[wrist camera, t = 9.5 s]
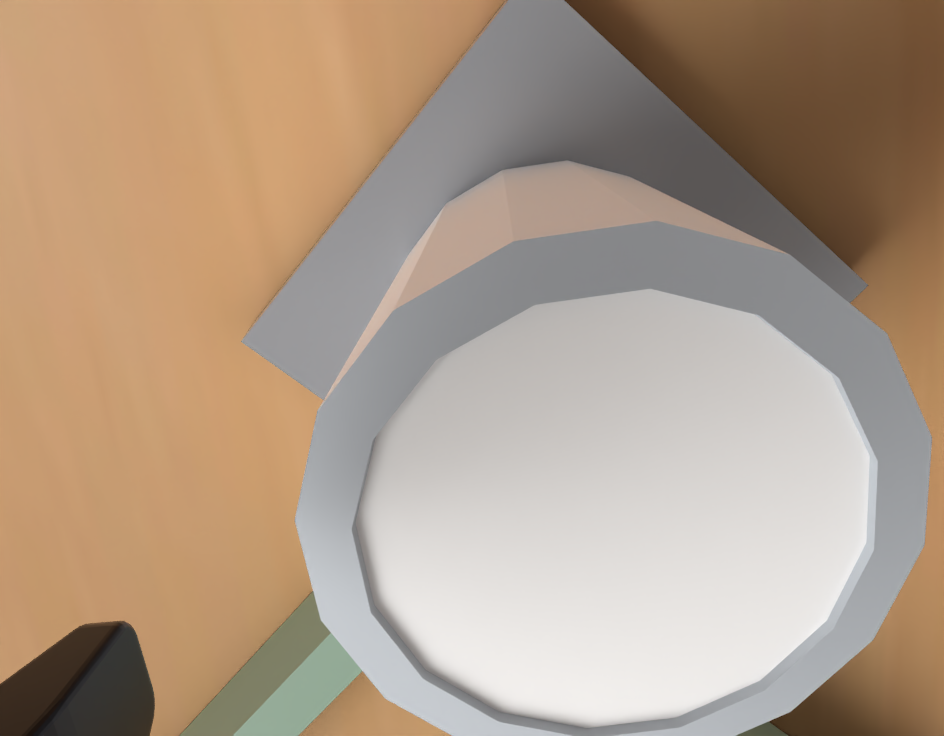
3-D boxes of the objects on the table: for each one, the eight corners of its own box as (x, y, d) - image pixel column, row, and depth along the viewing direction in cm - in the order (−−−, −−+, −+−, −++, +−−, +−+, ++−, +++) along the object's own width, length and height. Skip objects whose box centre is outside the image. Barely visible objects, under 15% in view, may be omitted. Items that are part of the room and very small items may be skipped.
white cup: (579, 31, 14) (681, 59, 7) (817, 330, 16) (1058, 556, 10) (281, 305, 16) (157, 522, 9) (530, 544, 18) (570, 857, 11)
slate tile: (849, 272, 16) (868, 285, 16) (562, 550, 19) (567, 572, 18) (528, -29, 14) (532, -30, 14) (250, 326, 17) (241, 341, 16)
